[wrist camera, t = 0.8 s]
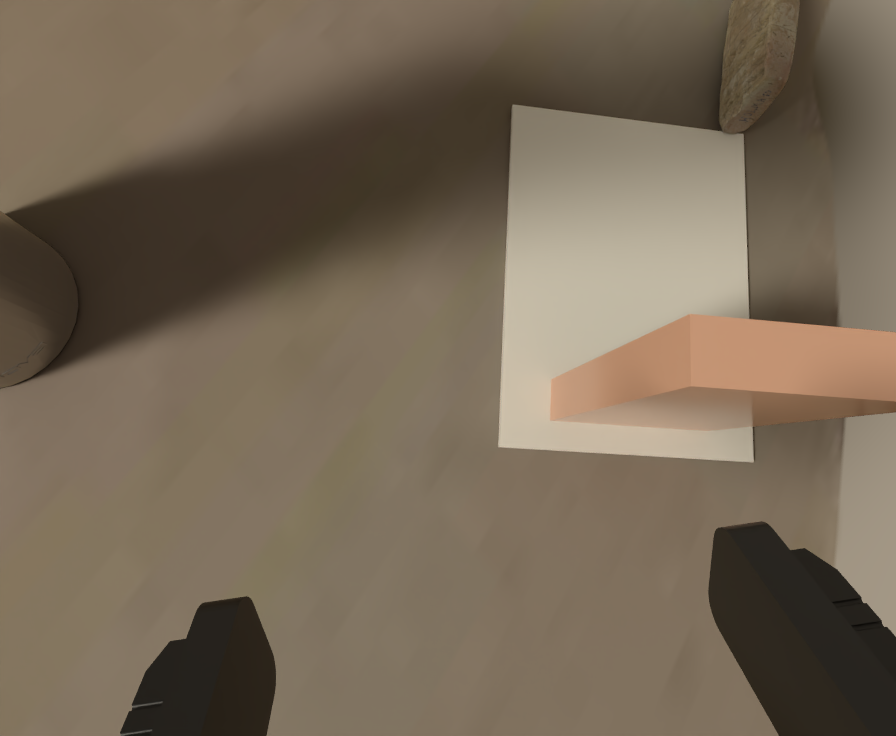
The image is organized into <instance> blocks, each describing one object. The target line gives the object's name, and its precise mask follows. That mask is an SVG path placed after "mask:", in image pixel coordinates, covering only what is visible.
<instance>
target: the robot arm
mask: <svg viewBox="0 0 896 736" xmlns="http://www.w3.org/2000/svg"><path fill="white" fill-rule="evenodd" d="M77 312H78V293H77V287H76V284H75V280H74V277H73V274H72V272H71V270H70V269H69V267H68V266H67V264H66V262H65V261H64V259H63V258H62V257H61V256H60V255H59V254H58V253H57V252H56V251H55V250H54V249H53V248H52V247H51V246H50V245H48V244H47V243H45V242H44V241H43V240H41V239H40V238H38V237H37V236H35V235H34V234H32V233H31V232H30V231H28V230H27V229H25V228H24V227H22V226H21V225H19V224H18V223H17V222H15V221H14V220H12V219H11V218H9V217H8V216H7V215H5V214H4V213H3V212H1V211H0V388H3V387H7V386H12V385H14V384H16V383H19V382H21V381H23V380H26V379H28V378H30V377H32V376H33V375H35V374H36V373H38V372H39V371H41V370H42V369H44V368H45V367H46V366H47V365H48V364H49V363H50V362H51V361H52V360H53V359H54V358H55V357H56V356H57V355H58V354H59V353H60V352H61V350H62V349H63V347H64V346H65V344H66V343H67V341H68V340H69V338H70V336H71V333H72V331H73V328H74V326H75V323H76V318H77ZM708 593H709V602H710V607H711V611H712V614H713V617H714V620H715V622H716V625H717V627H718V629H719V631H720V632H721V634H722V636H723V638H724V639H725V641H726V643H727V645H728V646H729V648H730V650H731V652H732V653H733V655H734V657H735V659H736V661H737V662H738V664H739V666H740V668H741V669H742V671H743V673H744V675H745V676H746V678H747V680H748V682H749V683H750V685H751V687H752V689H753V691H754V692H755V694H756V696H757V698H758V699H759V701H760V703H761V705H762V706H763V708H764V710H765V712H766V713H767V715H768V717H769V719H770V720H771V722H772V724H773V726H774V728H775V729H776V731H777V733H778V735H779V736H896V637H895V636H894V634H893V633H892V632H891V631H890V630H889V629H888V628H887V627H884V626H883V625H882V621H881V620H880V618H879V617H878V616H877V615H876V614H875V613H874V611H873V610H872V609H871V608H870V607H869V606H868V604H867V603H863V602H862V600H861V596H860V595H859V594H858V593H857V592H856V591H855V590H854V588H853V587H852V586H851V585H850V584H849V583H848V581H847V580H846V579H845V578H844V577H843V576H842V575H841V573H840V572H839V571H838V570H837V569H835V568H834V567H832V566H831V565H829V564H828V563H826V562H825V561H823V560H822V559H820V558H819V557H817V556H816V555H814V554H813V553H811V552H810V551H808V550H807V549H805V548H803V549H797V550H789V548H788V547H787V546H786V545H785V543H784V542H783V541H782V540H781V538H780V537H779V536H778V535H777V533H776V532H775V531H774V530H773V529H772V527H771V526H770V525H768V524H767V523H765V522H762V521H761V522H754V523H747V524H741V525H734V526H727V527H721V528H718V529H716V531H715V533H714V540H713V550H712V560H711V569H710V579H709V591H708ZM275 686H276V669H275V661H274V656H273V653H272V650H271V648H270V645H269V642H268V640H267V637H266V635H265V632H264V630H263V627H262V624H261V622H260V619H259V617H258V614H257V612H256V609H255V606H254V604H253V602H252V600H251V599H250V598H249V597H247V596H246V597H239V598H233V599H226V600H219V601H213V602H206V603H202V604H201V605H200V606H199V608H198V609H197V611H196V614H195V616H194V619H193V622H192V624H191V627H190V630H189V632H188V635H187V638H186V639H182V640H175V641H170V642H169V643H168V645H167V646H166V647H165V648H164V649H163V651H162V652H161V653H160V654H159V656H158V657H157V658H156V659H155V661H154V662H153V663H152V664H151V666H150V667H149V668H148V669H147V671H146V672H145V675H144V677H143V679H142V682H141V684H140V686H139V689H138V691H137V694H136V696H135V698H134V701H133V703H132V711H129V713H128V715H127V718H126V720H125V722H124V725H123V727H122V729H121V732H120V734H121V736H266V735H267V730H268V725H269V720H270V715H271V710H272V705H273V699H274V694H275Z"/></svg>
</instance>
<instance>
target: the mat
mask: <svg viewBox="0 0 896 736" xmlns="http://www.w3.org/2000/svg"><path fill="white" fill-rule="evenodd" d="M688 314H698V315H709V316H720V317H731V318H742V319H749V295H748V262H747V230H746V197H745V165H744V134H739V133H736V134H727V133H724V132H723V131H715V130H708V129H700V128H692V127H684V126H677V125H669V124H661V123H653V122H645V121H638V120H630V119H622V118H614V117H607V116H599V115H591V114H583V113H575V112H568V111H560V110H552V109H544V108H536V107H529V106H521V105H512V112H511V137H510V162H509V187H508V213H507V238H506V263H505V288H504V314H503V339H502V364H501V389H500V414H499V440H498V447H503V448H520V449H537V450H554V451H571V452H587V453H604V454H621V455H638V456H654V457H671V458H688V459H705V460H721V461H738V462H754V457H753V427H744V428H734V429H724V430H714V431H698V430H683V429H667V428H652V427H637V426H622V425H606V424H591V423H576V422H561V421H550V404H551V379H553V378H555V377H557V376H559V375H561V374H564V373H566V372H568V371H570V370H572V369H574V368H576V367H578V366H580V365H583V364H585V363H587V362H589V361H591V360H593V359H595V358H597V357H600V356H602V355H604V354H606V353H608V352H610V351H612V350H614V349H616V348H619V347H621V346H623V345H625V344H627V343H629V342H631V341H633V340H636V339H638V338H640V337H642V336H644V335H646V334H648V333H650V332H652V331H655V330H657V329H659V328H661V327H663V326H665V325H667V324H669V323H672V322H674V321H676V320H678V319H680V318H682V317H684V316H686V315H688Z"/></svg>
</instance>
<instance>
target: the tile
mask: <svg viewBox="0 0 896 736" xmlns="http://www.w3.org/2000/svg"><path fill="white" fill-rule="evenodd" d="M893 412H896V332H887V331H875V330H865V329H854V328H843V327H832V326H820V325H809V324H798V323H787V322H776V321H765V320H754V319H742V318H731V317H720V316H709V315H698V314H688V315H686V316H684V317H682V318H680V319H678V320H676V321H674V322H672V323H669V324H667V325H665V326H663V327H661V328H659V329H657V330H655V331H652V332H650V333H648V334H646V335H644V336H642V337H640V338H638V339H636V340H633V341H631V342H629V343H627V344H625V345H623V346H621V347H619V348H616V349H614V350H612V351H610V352H608V353H606V354H604V355H602V356H600V357H597V358H595V359H593V360H591V361H589V362H587V363H585V364H583V365H580V366H578V367H576V368H574V369H572V370H570V371H568V372H566V373H564V374H561V375H559V376H557V377H555V378H553V379H551V404H550V421H561V422H576V423H591V424H606V425H622V426H637V427H652V428H667V429H683V430H698V431H714V430H724V429H734V428H744V427H754V426H764V425H774V424H784V423H794V422H804V421H814V420H824V419H834V418H844V417H853V416H864V415H873V414H883V413H893Z"/></svg>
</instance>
